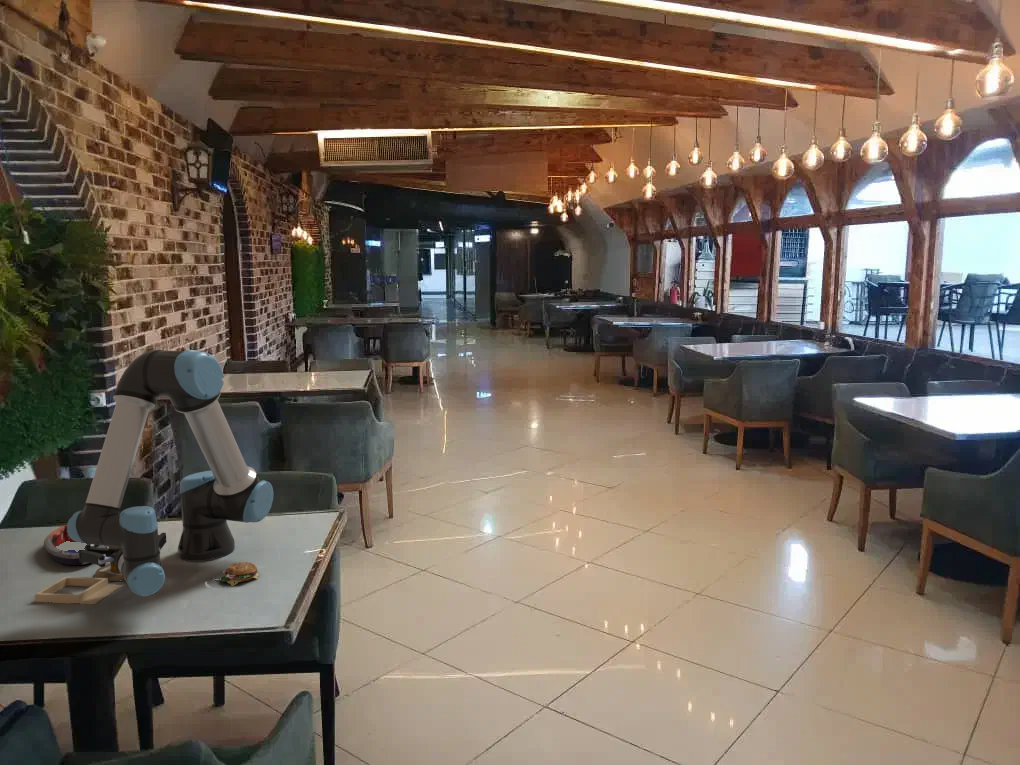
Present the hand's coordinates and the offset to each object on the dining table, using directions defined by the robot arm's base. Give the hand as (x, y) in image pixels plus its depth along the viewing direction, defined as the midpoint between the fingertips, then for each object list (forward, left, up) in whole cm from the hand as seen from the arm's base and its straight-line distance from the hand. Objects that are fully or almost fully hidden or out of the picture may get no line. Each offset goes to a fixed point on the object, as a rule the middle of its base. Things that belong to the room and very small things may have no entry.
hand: (118, 537), depth 195 cm
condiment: (0, 0, -9) cm, 9 cm away
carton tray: (+2, +13, -10) cm, 17 cm away
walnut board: (0, -1, -10) cm, 10 cm away
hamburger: (-32, +1, -10) cm, 34 cm away
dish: (+23, -13, -10) cm, 28 cm away
